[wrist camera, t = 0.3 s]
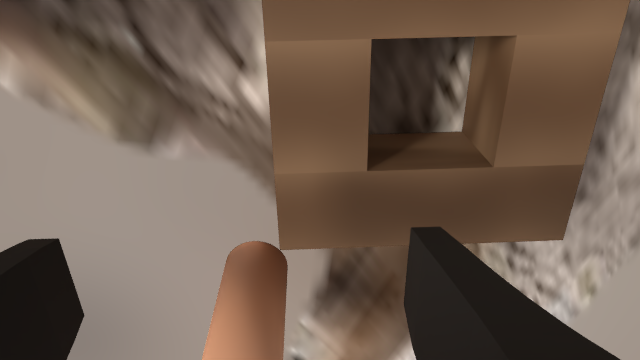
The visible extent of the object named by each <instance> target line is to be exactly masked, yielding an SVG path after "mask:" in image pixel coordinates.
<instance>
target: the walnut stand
mask: <svg viewBox="0 0 640 360" xmlns="http://www.w3.org/2000/svg"><path fill="white" fill-rule="evenodd" d="M629 3H630V0H262V8H263V22H264V35H265V49H266V63H267V77H268V91H269V105H270V119H271V132H272V146H273V160H274V174H275V188H276V202H277V215H278V228H279V243H280V250H292V249H321V248H350V247H378V246H407V245H409V241H410V230H411V227H439V226H440V227H441V228H443V229H444V230H445V231H446V232H448V233H449V234H450V235H451V236H453V237H454V238H455V239H456V240H457V241H459V242H460V243H461V244H464V243H492V242H521V241H549V240H563V238H564V234H565V231H566V227H567V223H568V220H569V216H570V213H571V209H572V206H573V202H574V199H575V195H576V191H577V188H578V184H579V181H580V177H581V174H582V170H583V166H584V163H585V159H586V156H587V152H588V149H589V145H590V142H591V138H592V134H593V131H594V127H595V124H596V120H597V117H598V113H599V110H600V106H601V102H602V99H603V95H604V92H605V88H606V85H607V81H608V77H609V74H610V70H611V67H612V63H613V60H614V56H615V53H616V49H617V45H618V42H619V38H620V35H621V31H622V28H623V24H624V21H625V17H626V13H627V10H628V6H629ZM474 36H475V41H474V48H473V56H472V63H471V70H470V78H469V85H468V92H467V100H466V107H465V114H464V121H463V129H462V132H437V133H403V134H369V135H368V127H369V98H370V69H371V39H392V38H433V37H474Z"/></svg>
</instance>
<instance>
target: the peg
mask: <svg viewBox="0 0 640 360" xmlns="http://www.w3.org/2000/svg"><path fill="white" fill-rule="evenodd" d="M286 286H287V261H286V258H285V256H284V255H283V253H282V252H281V251H280V250H279V249H278V248H276V247H275V246H273V245H271V244H268V243H265V242H260V241H252V242H246V243H243V244H241V245H239V246H237V247H235V248H234V249H233V250H232V251H231V252H230V254H229V255H228V257H227V260H226V264H225V268H224V272H223V276H222V280H221V284H220V288H219V292H218V296H217V300H216V305H215V308H214V312H213V316H212V321H211V325H210V329H209V333H208V337H207V341H206V345H205V349H204V353H203V357H202V360H283V350H284V329H285V308H286V288H287V287H286Z"/></svg>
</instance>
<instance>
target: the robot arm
mask: <svg viewBox="0 0 640 360" xmlns="http://www.w3.org/2000/svg"><path fill="white" fill-rule="evenodd" d="M404 307H405V312H406V317H407V323H408V328H409V332H410V337H411V342H412V346H413V350H414V353H415V356H416V359H417V360H620V359H619V358H617V357H616V356H614V355H612V354H611V353H609V352H608V351H606V350H604V349H603V348H601V347H599V346H598V345H596V344H595V343H593V342H591V341H590V340H588V339H587V338H585V337H583V336H582V335H580V334H579V333H577V332H576V331H574V330H573V329H571V328H570V327H568V326H567V325H565V324H564V323H563V322H561V321H560V320H558V319H557V318H556V317H554V316H553V315H551V314H550V313H549V312H547V311H546V310H544V309H543V308H542V307H540V306H539V305H537V304H536V303H535V302H533V301H532V300H530V299H529V298H528V297H527V296H525V295H524V294H523V293H521V292H520V291H519V290H517V289H516V288H515V287H513V286H512V285H511V284H510V283H508V282H507V281H506V280H504V279H503V278H502V277H501V276H499V275H498V274H497V273H496V272H494V271H493V270H492V269H491V268H490V267H488V266H487V265H486V264H485V263H483V262H482V261H481V260H480V259H479V258H478V257H476V256H475V255H474V254H473V253H472V252H470V251H469V250H468V249H467V248H466V247H464V246H463V245H462V244H461V243H460V242H459V241H457V240H456V239H455V238H454V237H453V236H451V235H450V234H449V233H448V232H446V231H445V230H444V229H443V228H441V227H440V226H439V227H411V230H410V241H409V252H408V263H407V274H406V285H405V296H404ZM83 317H84V313H83V310H82V307H81V304H80V301H79V298H78V295H77V292H76V289H75V286H74V283H73V280H72V277H71V274H70V271H69V268H68V265H67V262H66V259H65V256H64V253H63V250H62V247H61V244H60V241H59V239H30V240H26V241H24V242H22V243H19V244H17V245H15V246H13V247H11V248H9V249H7V250H4V251H3V252H1V253H0V360H67V357H68V355H69V353H70V350H71V348H72V345H73V343H74V341H75V338H76V336H77V333H78V330H79V328H80V325H81V323H82V320H83Z"/></svg>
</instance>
